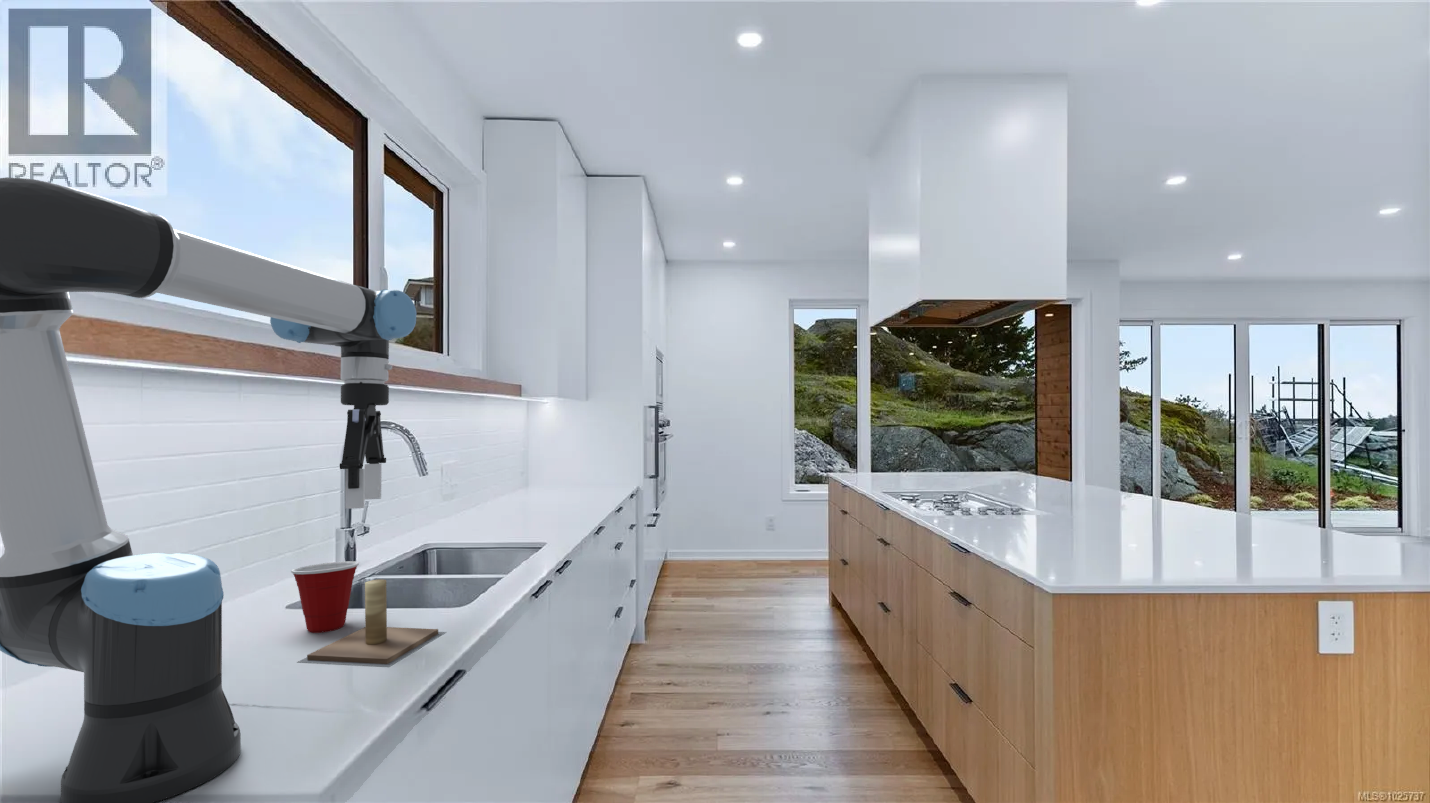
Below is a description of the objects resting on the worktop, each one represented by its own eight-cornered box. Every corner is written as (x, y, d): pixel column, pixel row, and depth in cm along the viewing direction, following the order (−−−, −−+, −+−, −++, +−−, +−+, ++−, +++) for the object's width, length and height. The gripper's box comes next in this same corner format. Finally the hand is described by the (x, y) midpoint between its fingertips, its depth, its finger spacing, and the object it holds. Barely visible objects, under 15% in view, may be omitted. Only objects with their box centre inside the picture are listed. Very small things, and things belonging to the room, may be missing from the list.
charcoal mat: (388, 669, 101) (388, 666, 101) (296, 664, 104) (296, 662, 104) (446, 634, 117) (446, 631, 117) (365, 630, 120) (365, 628, 120)
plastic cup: (357, 616, 128) (357, 554, 128) (362, 631, 119) (361, 565, 119) (291, 626, 122) (291, 562, 123) (290, 643, 113) (290, 574, 113)
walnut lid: (387, 663, 102) (386, 594, 103) (307, 659, 105) (306, 592, 105) (438, 633, 116) (437, 572, 116) (366, 630, 118) (366, 570, 119)
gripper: (373, 378, 105) (372, 511, 105) (400, 386, 129) (400, 494, 128) (320, 378, 103) (319, 513, 102) (358, 386, 127) (357, 496, 126)
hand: (364, 503), depth 115 cm, fingers open, 13 cm apart
